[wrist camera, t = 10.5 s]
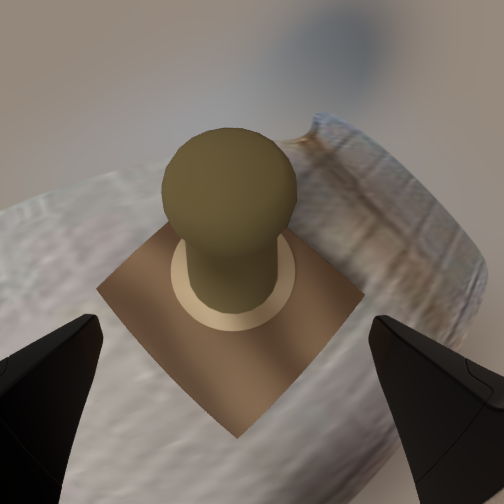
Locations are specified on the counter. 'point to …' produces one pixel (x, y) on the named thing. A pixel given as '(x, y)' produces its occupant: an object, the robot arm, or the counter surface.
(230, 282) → the pepper shaker
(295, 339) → the plate
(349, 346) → the counter surface
